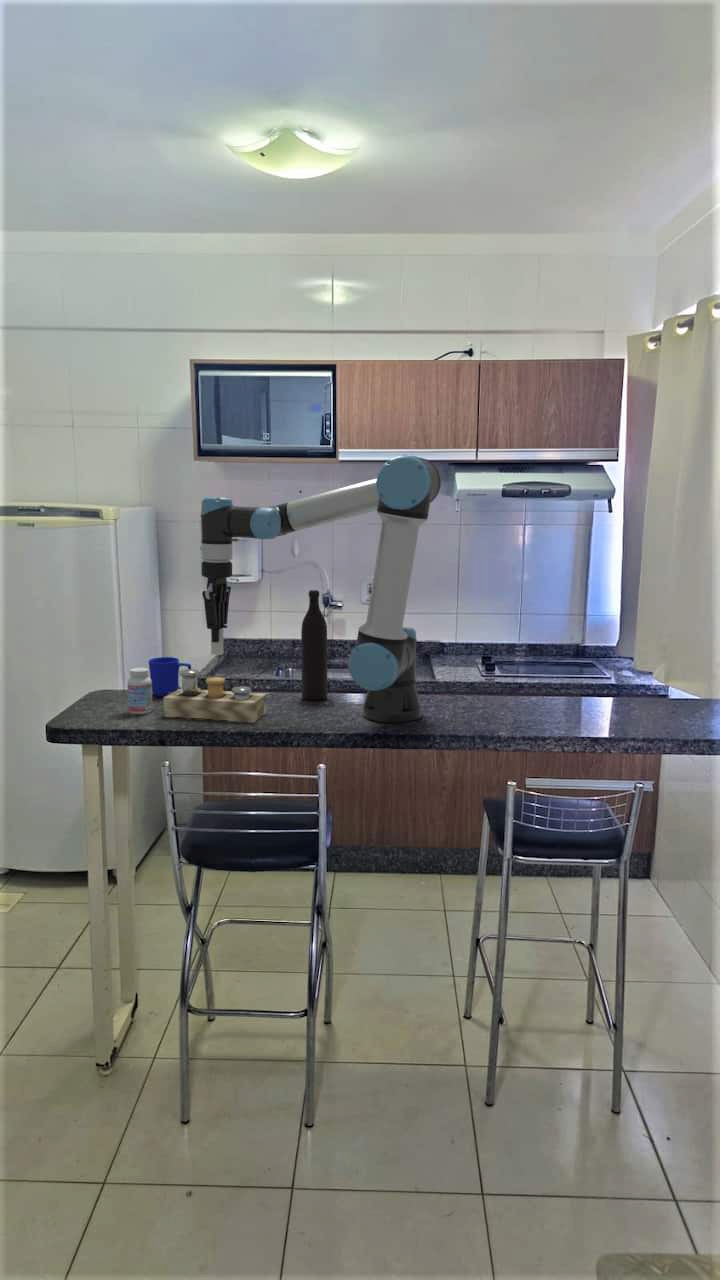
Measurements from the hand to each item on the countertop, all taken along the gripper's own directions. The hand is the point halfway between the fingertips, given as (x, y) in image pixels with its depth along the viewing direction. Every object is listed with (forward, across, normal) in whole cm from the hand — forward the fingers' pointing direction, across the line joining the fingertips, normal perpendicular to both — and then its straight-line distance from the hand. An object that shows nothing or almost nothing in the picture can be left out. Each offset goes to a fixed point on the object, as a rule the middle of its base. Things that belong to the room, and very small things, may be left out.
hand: (217, 654), depth 202 cm
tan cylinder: (+13, 0, 0) cm, 13 cm away
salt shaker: (+12, 0, -7) cm, 14 cm away
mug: (+17, -16, -20) cm, 31 cm away
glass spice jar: (+15, 0, +7) cm, 16 cm away
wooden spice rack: (+16, 0, 0) cm, 16 cm away
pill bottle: (+17, +2, -20) cm, 26 cm away
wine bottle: (+16, -22, +20) cm, 33 cm away
